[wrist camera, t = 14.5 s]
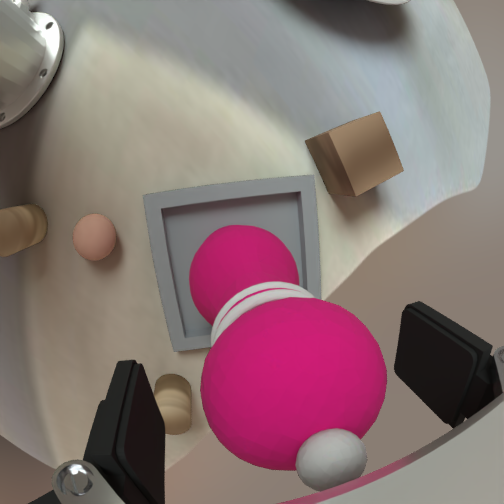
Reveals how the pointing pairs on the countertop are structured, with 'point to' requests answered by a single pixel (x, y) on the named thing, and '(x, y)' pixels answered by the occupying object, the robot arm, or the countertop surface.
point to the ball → (94, 237)
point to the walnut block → (355, 155)
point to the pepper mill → (283, 362)
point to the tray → (217, 216)
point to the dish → (390, 2)
